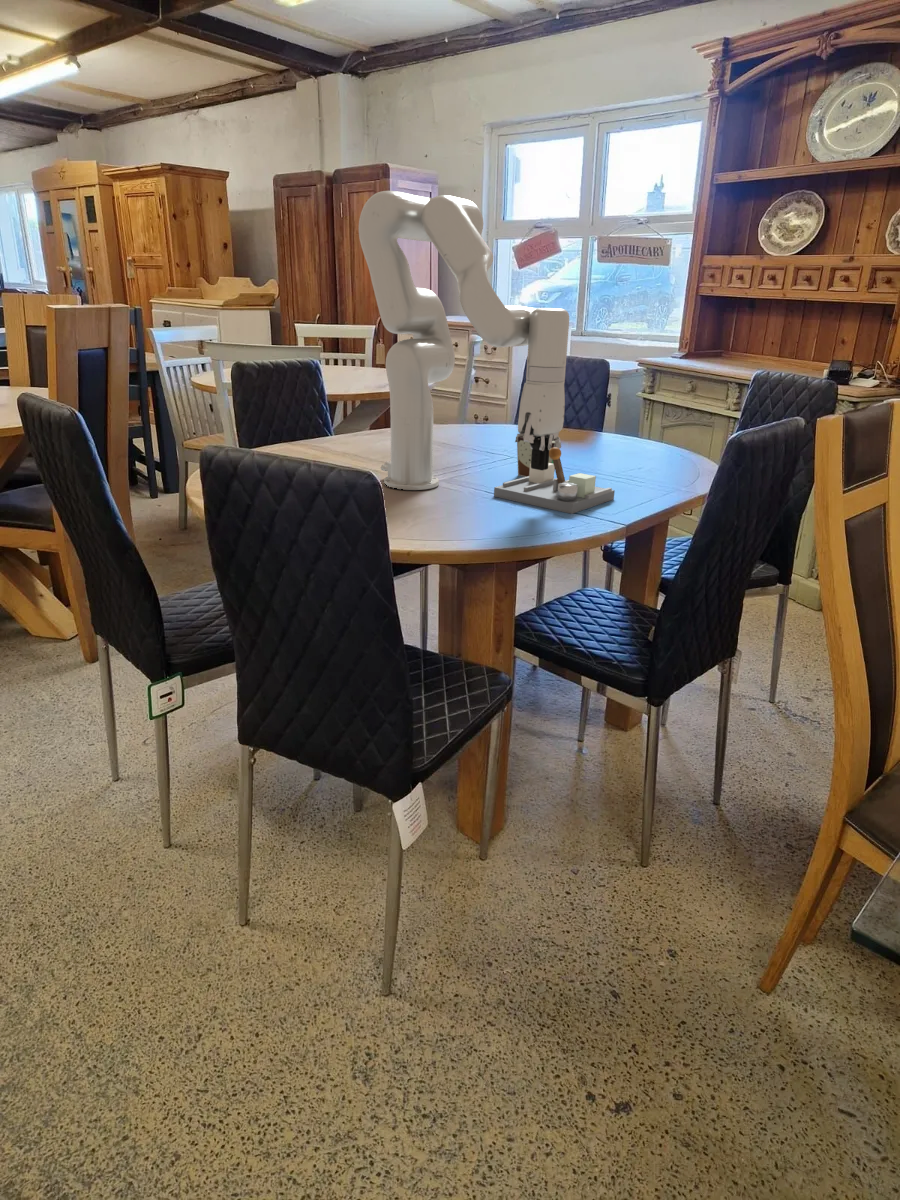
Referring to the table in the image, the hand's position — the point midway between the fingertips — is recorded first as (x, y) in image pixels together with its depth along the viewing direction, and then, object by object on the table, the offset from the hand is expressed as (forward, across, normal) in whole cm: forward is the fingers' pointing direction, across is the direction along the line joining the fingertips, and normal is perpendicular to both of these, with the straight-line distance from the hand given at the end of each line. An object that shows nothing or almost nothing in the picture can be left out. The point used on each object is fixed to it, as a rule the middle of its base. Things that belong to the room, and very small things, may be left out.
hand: (539, 468), depth 155 cm
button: (+6, -4, +5) cm, 9 cm away
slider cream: (+6, -13, -8) cm, 17 cm away
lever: (+5, -10, 0) cm, 11 cm away
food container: (+8, -25, -16) cm, 31 cm away
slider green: (+6, -9, +5) cm, 12 cm away
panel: (+8, -10, -2) cm, 13 cm away
